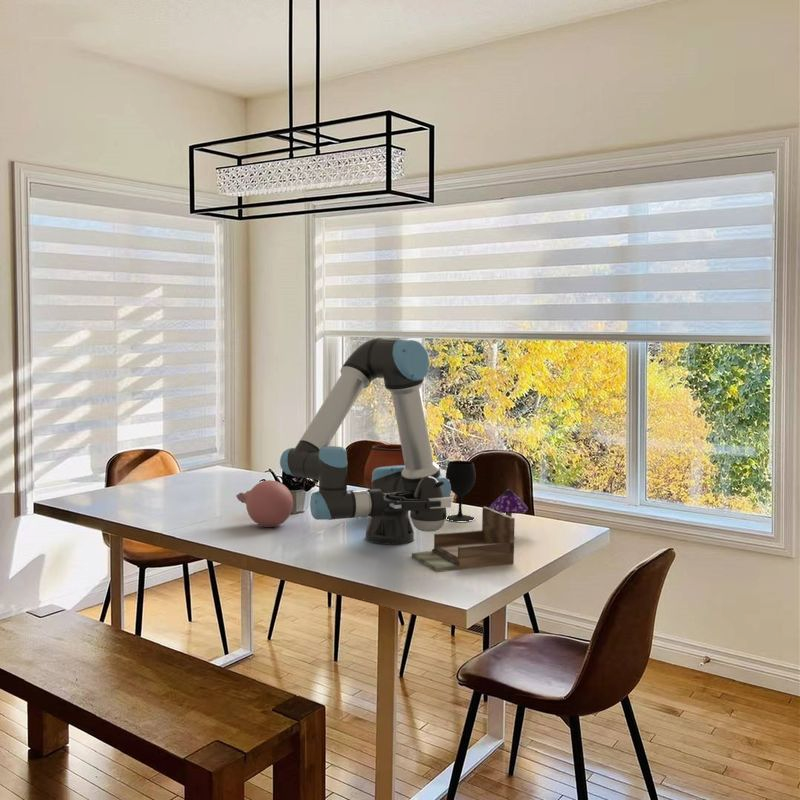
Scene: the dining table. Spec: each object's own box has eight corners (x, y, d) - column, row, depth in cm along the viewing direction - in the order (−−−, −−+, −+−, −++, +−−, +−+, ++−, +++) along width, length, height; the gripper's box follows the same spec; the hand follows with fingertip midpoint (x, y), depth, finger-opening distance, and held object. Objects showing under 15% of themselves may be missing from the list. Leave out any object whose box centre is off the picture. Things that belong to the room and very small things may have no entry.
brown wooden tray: (412, 556, 247) (412, 512, 246) (485, 549, 256) (486, 506, 255) (436, 571, 231) (437, 524, 230) (513, 563, 240) (514, 518, 239)
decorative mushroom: (529, 532, 279) (530, 487, 278) (525, 541, 267) (526, 494, 266) (492, 529, 282) (493, 485, 281) (485, 538, 270) (486, 491, 269)
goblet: (422, 511, 309) (423, 443, 307) (410, 523, 290) (411, 450, 288) (371, 508, 313) (372, 441, 311) (357, 519, 295) (357, 448, 293)
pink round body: (249, 518, 294) (249, 474, 293) (301, 523, 287) (301, 478, 286) (225, 527, 280) (225, 481, 278) (279, 533, 273) (279, 486, 272)
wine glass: (465, 523, 291) (466, 465, 289) (439, 519, 296) (440, 463, 295) (480, 518, 299) (481, 462, 298) (454, 514, 305) (455, 459, 303)
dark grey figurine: (430, 535, 231) (431, 480, 230) (402, 529, 238) (403, 475, 237) (454, 530, 238) (455, 476, 237) (426, 523, 245) (427, 471, 244)
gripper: (355, 508, 242) (429, 504, 250) (379, 525, 222) (458, 520, 229) (356, 482, 242) (429, 479, 249) (380, 497, 221) (459, 492, 228)
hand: (443, 498), depth 239 cm, fingers closed on dark grey figurine, 9 cm apart
